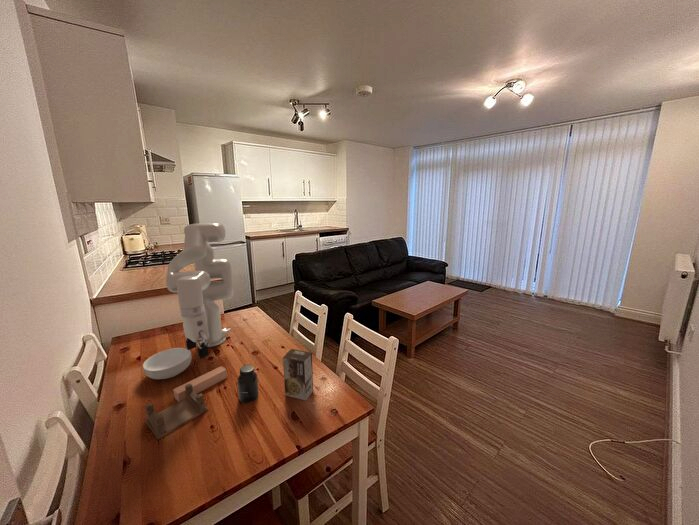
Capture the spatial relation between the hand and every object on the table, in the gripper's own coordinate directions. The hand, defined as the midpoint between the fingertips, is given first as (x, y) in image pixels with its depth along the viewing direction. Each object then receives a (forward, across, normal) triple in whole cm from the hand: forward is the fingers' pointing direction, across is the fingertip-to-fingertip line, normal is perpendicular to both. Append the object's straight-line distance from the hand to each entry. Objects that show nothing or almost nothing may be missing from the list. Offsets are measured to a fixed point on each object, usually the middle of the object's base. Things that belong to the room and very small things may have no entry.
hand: (197, 352), depth 102 cm
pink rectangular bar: (+16, +1, 0) cm, 16 cm away
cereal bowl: (+15, +20, +4) cm, 26 cm away
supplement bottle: (+16, -19, -8) cm, 26 cm away
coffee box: (+16, -32, -21) cm, 41 cm away
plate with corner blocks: (+15, -8, +12) cm, 21 cm away
